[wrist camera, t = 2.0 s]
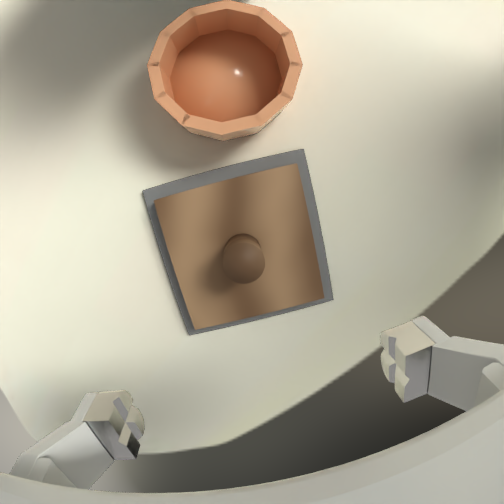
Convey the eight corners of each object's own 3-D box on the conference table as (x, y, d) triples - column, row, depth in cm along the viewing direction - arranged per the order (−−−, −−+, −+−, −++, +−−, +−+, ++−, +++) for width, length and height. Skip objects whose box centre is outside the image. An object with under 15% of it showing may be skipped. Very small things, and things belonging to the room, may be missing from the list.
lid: (294, 163, 24) (306, 162, 20) (320, 292, 27) (335, 314, 22) (157, 199, 24) (141, 205, 20) (196, 323, 27) (190, 350, 23)
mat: (302, 149, 24) (303, 148, 24) (332, 298, 27) (333, 299, 27) (143, 190, 24) (142, 190, 24) (189, 333, 27) (189, 335, 27)
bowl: (271, 17, 21) (278, -8, 16) (302, 123, 23) (316, 114, 19) (153, 44, 21) (138, 23, 17) (178, 153, 24) (166, 150, 19)
